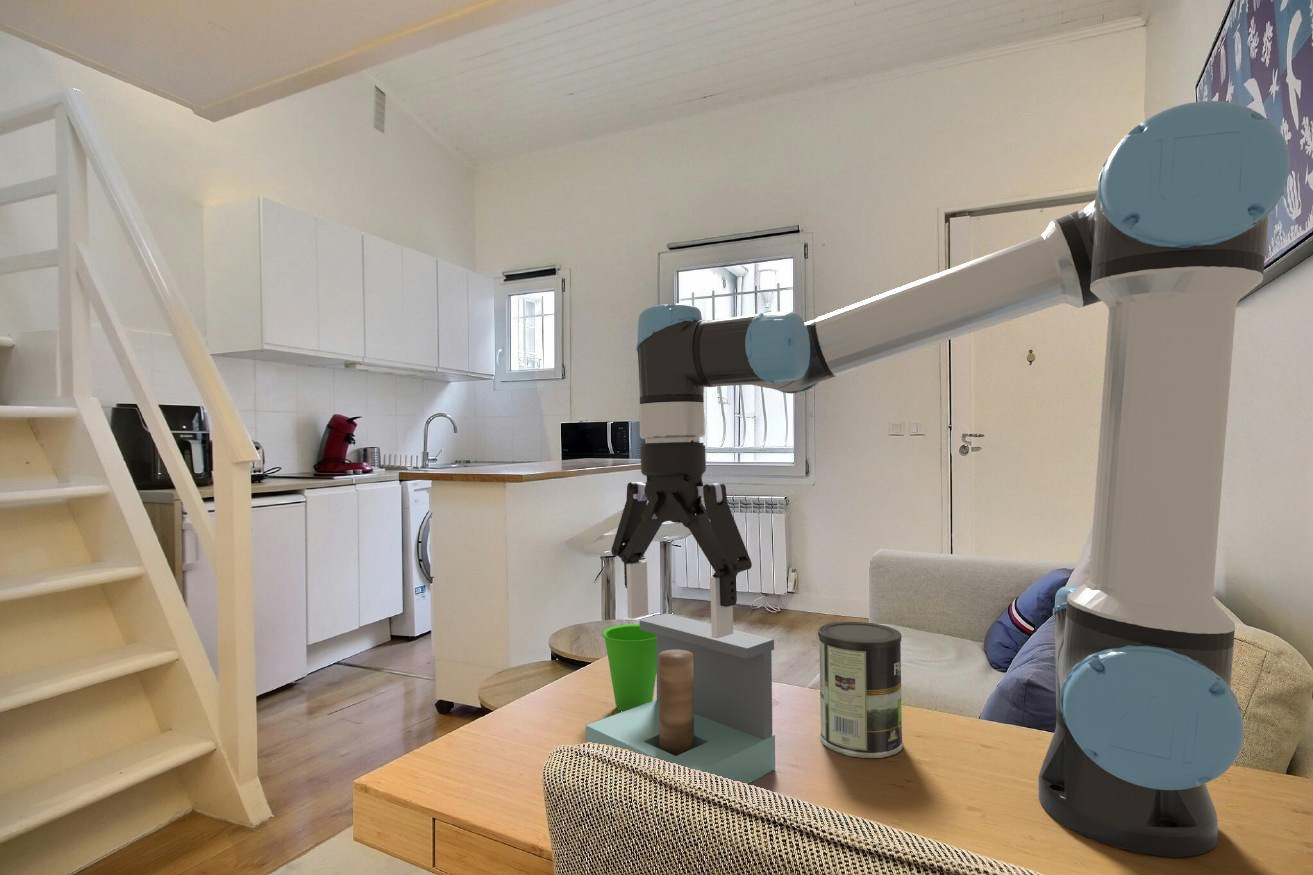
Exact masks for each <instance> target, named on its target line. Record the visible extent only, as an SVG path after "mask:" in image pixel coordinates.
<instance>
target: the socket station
mask: <svg viewBox="0 0 1313 875" xmlns="http://www.w3.org/2000/svg"><path fill="white" fill-rule="evenodd" d="M639 624H640V629H641V630H644V631H648V632H651V633H655V634H656V668H657V673H656V699H655V700H653V701H652V702H649V703H646V704H643V705H640V706H638V707H635V708H632V709H629V710H627V711H624V712H619V713H616V714H614V715H610V716H608V717H604V718H603V719H600V720H596V721H594V722H591V723H589V724H586V725H585V743H586V742H592V743H598V744H606V745H612V746H614V747H620V748H622V749H628V750H629V751H633V752H635V753H638V754H643V755H645V756H650V757H653V758H658V759H660V760H664V761H666V762H670V763H676V764H678V765H681V766H684V767H688V768H690V769H695V770H700V771H702V772H708V773H710V774H715V775H717V776H722V777H723V778H728V779H731V780H733V781H740V782H742V783H748V784H747V785H749V784H750V781H753V782H754V781H756V780H758V779H760V778H762V777H764V776H765V775H767V774H770V773H771V772H773V771H775V770H776V734H773V677H772V676H773V672H772V671H773V670H772V669H773V668H772V667H773V666H772V665H773V664H772V651H774V650H775V640H774V639H773V638H769V637H765V636H762V635H757V634H754V633H753V634H752V633H748V632H745V631H741V630H736V629H733V634H730V635H727V636H724V637H721V638H712V628H711V623H709V622H704V621H700V620H696V619H692V618H687V617H684V616H679V615H675V614H671V613H663V614H659V615H655V616H651V617H646V618H642V619H639ZM666 650H686V651H689V652H691V653H693V688H694V748H693V749H691V750H689V751H687V752H684V753H682V754H680V755H678V756H674V755H672V754H670V753H668V752H665V751H663V750H661V749H659V658H658V655H659V653H660V652H662V651H666ZM774 769H775V770H774ZM772 770H773V771H772Z"/></svg>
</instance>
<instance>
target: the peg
mask: <svg viewBox="0 0 1313 875" xmlns="http://www.w3.org/2000/svg"><path fill="white" fill-rule="evenodd" d="M658 658H659V749H661V750H663V751H665V752H668V753H670V754H672V755H674V756H678V755H680V754H682V753H684V752H687V751H689V750H691V749H693V748H694V688H693V653H691V652H689V651H686V650H666V651H662V652H660V653H659V655H658Z"/></svg>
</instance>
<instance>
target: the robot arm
mask: <svg viewBox="0 0 1313 875" xmlns="http://www.w3.org/2000/svg"><path fill="white" fill-rule="evenodd" d="M1290 167H1291V156H1290V150H1289V146H1288V142H1287V140H1286V139H1285V137H1284V135H1283V133H1282V132H1281V131H1280V129H1279V128H1278V126H1277V125H1276V124H1275V123H1274V122H1273V121H1272V120H1270V119H1269V118H1267V117H1265V116H1263V115H1262V114H1261V113H1260V112H1258V111H1256V110H1254V109H1253V108H1250V107H1248V106H1245V105H1242V104H1238V103H1234V102H1228V101H1220V100H1216V101H1215V100H1204V101H1203V100H1202V101H1194V102H1189V103H1183V104H1179V105H1176V106H1172V107H1169V108H1167V109H1165V110H1162V111H1159V112H1157V113H1155V114H1153V115H1151V116H1150V117H1147V118H1146V119H1145V120H1143V121H1142V122H1140V123H1139V124H1137V125H1136V126H1135V127H1133V128H1132V129H1131V130H1130V131H1129V132H1128V133H1127V134H1126V135H1124V136H1123V138H1122V139H1121V140H1120V141H1119V142H1118V143H1117V145H1116V146H1115V148H1114V149H1113V150H1112V152H1111V153H1110V154H1109V155H1108V158H1107V159H1106V161H1105V162H1104V163H1103V166H1102V169H1101V171H1100V173H1099V176H1098V180H1097V191H1096V195H1095V199H1094V200H1093V201H1091V202H1090V203H1088V204H1087V205H1085V206H1084V207H1082V208H1080V209H1078V210H1076V211H1074V212H1072V213H1069V214H1066V215H1065V216H1061V217H1059V218H1057V219H1054V220H1051V221H1050V222H1049V224H1048V226H1047V228H1046V229H1045V230H1044V232H1043V233H1042V234H1040V235H1038V236H1035V237H1033V238H1030V239H1027V240H1024V241H1022V242H1019V243H1017V244H1014V245H1010V246H1009V247H1005V248H1003V249H1000V250H998V251H995V252H992V253H989V254H986V255H984V256H982V257H978V258H975V259H973V260H971V261H968V262H965V263H962V264H960V265H957V266H955V267H951V268H949V269H945V270H944V271H941V272H939V273H935V274H933V275H930V276H927V277H925V278H922V279H919V280H916V281H914V282H911V283H908V284H906V285H903V286H901V287H896V288H895V289H892V290H889V291H886V292H884V293H882V294H879V295H876V296H873V297H871V298H868V299H865V300H862V301H860V302H857V303H854V304H851V305H849V306H845V307H844V308H841V309H837V310H835V311H833V312H830V313H826V314H825V315H821V316H818V317H817V318H815V319H813V320H809V321H806V322H805V320H804V317H802V315H801V314H799V313H798V312H796V311H790V310H788V311H777V312H774V311H771V310H769V311H766V310H765V311H763V312H759V313H756V314H746V315H740V316H734V317H726V318H724V317H723V318H717V319H712V320H709V319H707V320H705V319H703V317H702V312H701V309H699V307H697V306H695V305H691V304H684V303H674V304H673V303H672V304H668V303H666V304H665V303H664V304H657V305H653V306H649V307H647V308H645V309H644V310H642V311H640V314H639V316H638V319H637V343H636V347H635V348H636V351H637V364H638V366H637V367H638V382H639V383H638V384H639V385H638V386H639V405H638V406H639V408H638V409H639V416H638V418H639V437H640V438H641V439H642V440H644V441H645V443H642V444H641V446H640V449H639V450H640V472H641V474H642V475H643V476H646V481H633V482H628V484H627V486H626V500H625V503H624V504H625V505H624V508H623V511H622V513H621V517H620V521H619V524H618V527H617V531H616V533H615V537H614V540H613V543H612V547H611V552H610V553H611V555H612V556H613V557H618V558H620V560H621V562H622V563H623V567H624V568H623V570H624V571H623V572H624V573H623V574H624V576H623V577H624V586H625V589H626V592H627V593H626V594H627V595H626V596H627V600H626V602H627V618H628V619H638V618H640V617H646V616H648V615H649V589H648V588H649V587H648V562H647V561H645V560H646V557H645V554H646V552H647V550H648V548H649V546H650V545H651V543H652V541H653V540H654V538H655V536H656V535H657V533H658V531H659V530H660V528H661V526H662V525H663V524H664V523H665V522H672V523H677V524H680V523H681V524H682V525H683V527H685V528H687V529H688V530H689V531H690V533H691V535H692V537H693V538H694V540H695V541H696V543H697V544H698V546H699V548H700V549H701V551H702V552H703V554H704V556H705V557H706V559H707V561H708V563H709V564H710V566H711V567H712V569H713V570H714V573H713V574H712V576H709V586H710V587H709V590H710V591H709V592H710V593H709V594H710V621H711V622H710V624H711V628H712V638H721V637H724V636H727V635H730V634H733V630H734V611H733V606H735V605H736V604H737V603H738V602H737V601H738V595H737V577H738V576H737V575H738V574H739V573H742V572H745V571H747V570H751V568H752V567H753V565H752V564H753V563H752V561H751V558H750V555H749V553H748V550H747V548H746V545H745V543H744V541H743V538H742V535H741V533H740V530H739V528H738V525H737V523H736V520H735V518H734V515H733V513H732V511H731V508H730V506H729V504H728V503H729V502H728V497H727V488H726V485H725V484H724V482H716V483H706V484H704V483H703V474H704V473H706V470H707V464H706V463H707V461H706V460H707V459H706V458H707V457H706V456H707V455H706V444H704V442H701V440H700V438H703V437H704V436H705V407H704V406H705V405H704V404H705V399H704V398H705V397H704V396H705V395H704V394H705V388H715V387H729V386H746V385H747V386H750V385H751V386H756V387H761V388H766V389H771V390H775V391H779V392H780V393H785V394H797V393H804V392H807V391H809V390H812V389H813V388H814V387H816V386H817V385H818V384H819V383H822V382H824V381H828V380H830V379H832V378H835V377H837V376H841V375H844V374H847V373H850V372H853V371H856V370H858V369H862V368H865V367H868V366H872V365H875V364H878V363H881V362H884V361H887V360H890V359H893V358H897V357H899V356H902V355H906V354H909V353H912V352H915V351H918V350H922V349H925V348H927V347H930V346H935V345H937V344H940V343H943V342H945V341H949V340H953V339H956V338H959V337H962V336H965V335H968V334H971V333H974V332H977V331H981V330H983V329H987V328H990V327H993V326H997V325H1000V324H1003V323H1005V322H1008V321H1011V320H1014V319H1018V318H1021V317H1025V316H1028V315H1030V314H1034V313H1037V312H1039V311H1040V312H1041V311H1043V310H1046V309H1049V308H1052V307H1055V306H1058V305H1061V304H1067V305H1070V306H1073V307H1075V308H1077V309H1080V308H1084V307H1086V306H1090V305H1093V304H1096V303H1097V304H1098V303H1099V302H1102V303H1104V304H1105V306H1106V307H1107V309H1108V317H1107V329H1106V330H1107V332H1106V333H1107V334H1106V344H1105V356H1104V357H1105V358H1104V371H1103V372H1104V374H1103V384H1102V385H1103V386H1102V399H1101V400H1102V401H1101V410H1100V426H1099V439H1098V451H1097V466H1096V479H1095V481H1096V482H1095V491H1094V492H1095V494H1094V506H1093V520H1092V531H1091V532H1092V534H1091V545H1090V557H1089V558H1090V560H1089V572H1088V574H1089V575H1088V579H1087V580H1086V581H1085V583H1084V584H1082V585H1066V586H1062V587H1060V588H1059V589H1058V590H1057V592H1056V593H1055V597H1054V599H1055V600H1054V607H1053V608H1052V616H1053V617H1054V631H1055V632H1054V634H1055V635H1054V636H1055V637H1054V642H1055V645H1054V646H1055V699H1056V700H1055V703H1056V704H1055V708H1056V709H1055V710H1056V718H1055V719H1056V725H1055V730H1054V732H1053V736H1052V738H1051V741H1050V743H1049V745H1048V749H1047V750H1046V754H1045V756H1044V760H1043V762H1042V765H1041V768H1040V770H1039V773H1038V799H1039V803H1040V805H1041V806H1042V807H1043V809H1044V810H1045V811H1046V812H1047V813H1048V814H1049V815H1050V816H1051V817H1052V818H1054V819H1055V820H1057V821H1058V822H1059V823H1061V824H1062V825H1064V826H1065V827H1067V828H1069V829H1071V830H1073V831H1074V832H1077V833H1079V834H1081V835H1083V836H1084V837H1087V838H1089V839H1092V840H1094V841H1097V842H1100V843H1103V844H1104V845H1108V846H1112V847H1115V848H1118V849H1121V850H1125V851H1129V852H1134V853H1139V854H1145V855H1151V856H1159V857H1172V858H1173V857H1175V858H1177V857H1178V858H1179V857H1180V858H1181V857H1182V858H1183V857H1193V856H1199V855H1201V854H1206V853H1207V852H1210V851H1211V850H1213V849H1214V848H1216V846H1217V844H1218V842H1219V839H1218V838H1219V827H1218V825H1219V823H1218V821H1219V819H1218V814H1217V810H1216V807H1215V805H1214V802H1213V800H1212V797H1211V794H1210V792H1209V789H1208V787H1207V783H1209V782H1211V781H1213V780H1216V779H1218V778H1219V777H1221V776H1222V775H1223V774H1225V773H1226V772H1227V771H1228V770H1229V769H1230V768H1231V767H1232V765H1233V764H1234V763H1235V762H1236V761H1237V759H1238V757H1239V755H1240V752H1241V750H1242V747H1243V743H1244V737H1245V736H1244V735H1245V731H1244V728H1245V727H1244V719H1243V717H1242V708H1241V706H1240V704H1239V702H1238V698H1237V696H1236V695H1235V693H1234V692H1233V690H1232V689H1231V685H1232V673H1233V672H1232V671H1233V659H1234V648H1235V647H1234V646H1235V644H1234V643H1235V633H1236V632H1235V630H1236V623H1235V622H1234V620H1233V619H1232V618H1231V617H1230V616H1228V614H1227V613H1226V612H1225V611H1224V610H1223V609H1222V608H1221V607H1220V606H1219V605H1218V604H1217V602H1216V600H1215V599H1214V587H1215V586H1214V585H1215V575H1216V574H1215V572H1216V564H1217V563H1216V562H1217V561H1216V560H1217V559H1216V558H1217V548H1218V536H1219V535H1218V534H1219V522H1220V512H1221V511H1220V509H1221V498H1222V497H1221V496H1222V488H1223V486H1222V484H1223V472H1224V460H1225V459H1224V458H1225V449H1226V436H1227V424H1228V410H1229V408H1228V407H1229V397H1230V385H1231V384H1230V383H1231V374H1232V373H1231V372H1232V371H1231V370H1232V360H1233V348H1234V346H1233V345H1234V336H1235V325H1236V324H1235V322H1236V309H1237V304H1238V303H1239V301H1240V300H1241V299H1242V298H1244V297H1245V296H1246V295H1248V294H1249V293H1250V292H1252V290H1254V289H1255V288H1256V287H1257V286H1258V285H1260V284H1261V283H1262V282H1264V273H1265V272H1264V271H1265V261H1266V252H1267V251H1266V250H1267V241H1268V240H1267V238H1268V228H1269V215H1270V214H1271V213H1272V211H1273V210H1274V209H1275V208H1276V207H1277V205H1278V203H1279V202H1280V200H1281V198H1282V196H1283V195H1284V194H1285V193H1284V192H1285V188H1286V186H1287V183H1288V178H1289V174H1290ZM703 503H704V505H703Z"/></svg>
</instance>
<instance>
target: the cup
mask: <svg viewBox="0 0 1313 875" xmlns="http://www.w3.org/2000/svg"><path fill="white" fill-rule="evenodd" d="M601 636H602V637H603V638H604V642H605V647H606V652H607V660H608V665H609V671H610V677H611V682H612V683H611V684H612V689H613V696H614V702H615V703H614V704H615V707H616V708H617V711H618V712H620V711H622V712H624V711H627V710H629V709H632V708H635V707H638V706H640V705H643V704H646V703H649V702H652V701H654V700H653V699H654V695H655V694H654V692H655V686H656V681H657V668H656V634H655V633H651V632H648V631H644V630H641V629H640V623H627V624H626V623H625V624H618V625H614V626H610V627H608V628H606V629H604V630H603V631H602V633H601Z"/></svg>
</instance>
